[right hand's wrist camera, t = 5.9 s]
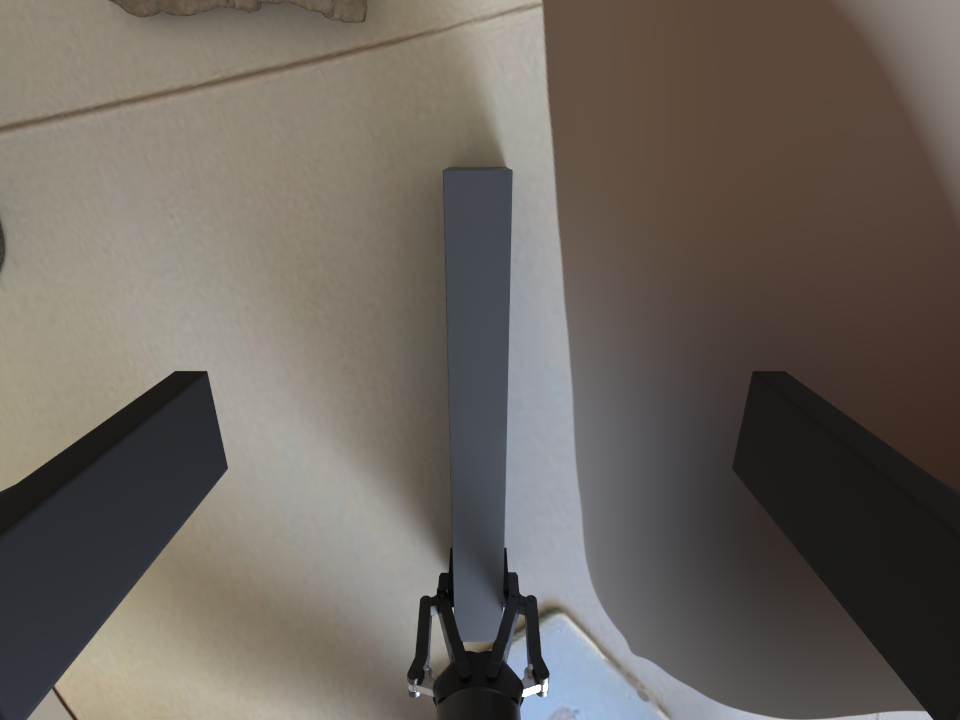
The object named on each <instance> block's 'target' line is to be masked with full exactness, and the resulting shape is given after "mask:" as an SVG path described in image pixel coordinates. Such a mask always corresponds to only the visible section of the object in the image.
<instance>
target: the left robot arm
mask: <svg viewBox="0 0 960 720" xmlns="http://www.w3.org/2000/svg"><path fill="white" fill-rule="evenodd" d="M452 607H454V587H453V548H451V551H450V565H449V573H441V574H440V576H439V584H438V588H437V595H436V596H434V597H431V598H430V597H429V596H423V597H422V598H421V599H420V608H419V620H418V631H417V643H416V654H415V658H414V661H413V663H412V665H411V667H410V669H409V671H408V674H407V678H408V691H409V695H410V696H411V697H413V698H415V697H418V696H419V695H420V694H421V693H422V694H425V695H428V696H431V697H433V701H434V703H435V705H436V708H437V712H436V720H521V717H520V707H521V705H522V703H523V699H524V696H527V695H530V694H533V693H536V694H537V695H538V696H540V697H545V696H547V694H548V687H549V671H548V669H547V667H546V665H545V663H544V661H543V658H542V656H541V645H540V633H539V622H538V610H537V599H536V597H535V596H533V595H529V596H527V597H524V596H522V595H521V594H520V593H519V585H518V575H517V574H516V572H508V566H507V551H506V548H504V577H503V607H505V610H504V613H503V617H502V620H501V624H500V627H499V631H498V634H497V638H496V640H495V641H494V645H493V648H492V651H485V652H481V653H476V652H472V651H465V649H464V646H463V642H462V640H461V639H460V635H459V632H458V628H457V625H456V621H455V618H454V614H453V611H452ZM437 614H438V615H439V619H440V623H441V627H442V631H443V635H444V639H445V643H446V647H447V651H448V655H449V659H450V664H449V665H448V667H447V668H446V669H445V670H444V671H443V673H442V674H441V675H440V676H439V677H438V678H437V680H434V679H433V674H432V669H431V668H430V667H429V658H430V641H431V624H432V616H433V615H437ZM519 614H522V615H525V625H526V643H527V660H528V667H526V668H525V671H524V678H523V679H522V680H520V679H519V678H518V676H517V675H516V674H515V673H514V672H513V670H512V669H511V668H510V667H509V666H508V664H507V658H508V654H509V650H510V646H511V642H512V638H513V635H514V631H515V627H516V623H517V619H518V617H519Z"/></svg>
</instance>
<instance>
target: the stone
mask: <svg viewBox="0 0 960 720" xmlns="http://www.w3.org/2000/svg"><path fill="white" fill-rule="evenodd" d="M110 1H111V2H113V3H115V4H117V5H119V6H121V7H122V8H123V9H124V10H125V11H126V12H127V13H129V14H133V15H136V16H138V17H147V16H153V15H155V14H158V13H160V12H161V11H164V12H166V13H167V14H169V15H179V16H190V15H194V14H196V13H197V12H206V11H210V10H213V9H214V8H216V7H225V8H227V7H230V8H235V9H237V10H239V9H242V10H244V11H246V12H249V13H250V12H252V11H258V10H260V6H261V2H262V3H276V4H279V3H281V2H287V1H289V2H291V3H293V4H296V5H298V6H300V7H302V8H304V9H306V10H309V11H318V12H321V13H322V14H323V15H324V16H325V17H326V18H328V19H330V20H341V21H343V22H348V23H360V22H364V21H365V16H366V11H367V4H366V0H110Z"/></svg>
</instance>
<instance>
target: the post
mask: <svg viewBox="0 0 960 720" xmlns="http://www.w3.org/2000/svg"><path fill="white" fill-rule="evenodd" d="M443 188H444V228H445V268H446V308H447V348H448V388H449V427H450V467H451V507H452V547H453V587H454V618H455V621H456V625H457V628H458V632H459V635H460V639H461V640H462V642H494V641H495V640H496V638H497V634H498V631H499V627H500V624H501V620H502V617H503V577H504V532H505V486H506V441H507V396H508V350H509V305H510V259H511V214H512V170H511V169H509V168H507V167H449V168H447V169H445V170H443Z"/></svg>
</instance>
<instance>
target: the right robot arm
mask: <svg viewBox="0 0 960 720" xmlns="http://www.w3.org/2000/svg"><path fill="white" fill-rule="evenodd" d="M4 253H5V245H4V236H3V231H2V227H1V224H0V270H1V268H2V264H3V261H4ZM227 469H228V466H227V462H226V457H225V452H224V448H223V443H222V438H221V434H220V429H219V424H218V419H217V415H216V410H215V405H214V401H213V396H212V391H211V387H210V382H209V377H208V373H207V371H175V372H173V373H172V374H171V375H169V376H168V377H166V378H165V379H164V380H162V381H161V382H159V383H158V384H157V385H155V386H154V387H152V388H151V389H150V390H148V391H147V392H145V393H144V394H142V395H141V396H140V397H138V398H137V399H135V400H134V401H133V402H131V403H130V404H128V405H127V406H126V407H124V408H123V409H121V410H120V411H119V412H117V413H116V414H114V415H113V416H112V417H110V418H109V419H107V420H106V421H105V422H103V423H102V424H100V425H99V426H98V427H96V428H95V429H93V430H92V431H90V432H89V433H88V434H86V435H85V436H83V437H82V438H81V439H79V440H78V441H76V442H75V443H74V444H72V445H71V446H69V447H68V448H67V449H65V450H64V451H62V452H61V453H60V454H58V455H57V456H55V457H54V458H53V459H51V460H50V461H48V462H47V463H45V464H44V465H43V466H41V467H40V468H38V469H37V470H36V471H34V472H33V473H31V474H30V475H29V476H27V477H26V478H24V479H23V480H22V481H20V482H19V483H17V484H16V485H13V486H11V487H9V488H7V489H5V490H3V491H1V492H0V720H27V719H28V717H29V716H30V715H31V714H32V712H33V711H34V710H35V709H36V707H37V706H38V705H39V704H40V702H41V701H42V700H43V699H44V697H45V696H46V695H47V694H48V692H49V691H50V690H51V689H52V687H53V686H54V685H55V684H56V682H57V681H58V680H59V679H60V677H61V676H62V675H63V674H64V672H65V671H66V670H67V669H68V667H69V666H70V665H71V664H72V662H73V661H74V660H75V659H76V658H77V656H78V655H79V654H80V653H81V651H82V650H83V649H84V648H85V646H86V645H87V644H88V643H89V641H90V640H91V639H92V638H93V636H94V635H95V634H96V633H97V631H98V630H99V629H100V628H101V626H102V625H103V624H104V623H105V621H106V620H107V619H108V618H109V616H110V615H111V614H112V613H113V611H114V610H115V609H116V608H117V606H118V605H119V604H120V603H121V601H122V600H123V599H124V598H125V596H126V595H127V594H128V593H129V591H130V590H131V589H132V588H133V586H134V585H135V584H136V583H137V581H138V580H139V579H140V578H141V576H142V575H143V574H144V573H145V571H146V570H147V569H148V568H149V566H150V565H151V564H152V563H153V561H154V560H155V559H156V558H157V557H158V555H159V554H160V553H161V552H162V550H163V549H164V548H165V547H166V545H167V544H168V543H169V542H170V540H171V539H172V538H173V537H174V535H175V534H176V533H177V532H178V530H179V529H180V528H181V527H182V525H183V524H184V523H185V522H186V520H187V519H188V518H189V517H190V515H191V514H192V513H193V512H194V510H195V509H196V508H197V507H198V505H199V504H200V503H201V502H202V500H203V499H204V498H205V497H206V495H207V494H208V493H209V492H210V490H211V489H212V488H213V487H214V485H215V484H216V483H217V482H218V480H219V479H220V478H221V477H222V475H223V474H224V473H225V472H226V470H227ZM732 469H733V470H734V472H735V473H736V474H737V475H738V477H739V478H740V479H741V480H742V482H743V483H744V484H745V485H746V487H747V488H748V489H749V490H750V492H751V493H752V494H753V495H754V497H755V498H756V499H757V500H758V502H759V503H760V504H761V505H762V507H763V508H764V509H765V510H766V512H767V513H768V514H769V515H770V517H771V518H772V519H773V520H774V522H775V523H776V524H777V525H778V527H779V528H780V529H781V530H782V532H783V533H784V534H785V535H786V537H787V538H788V539H789V540H790V542H791V543H792V544H793V545H794V547H795V548H796V549H797V550H798V552H799V553H800V554H801V555H802V557H803V558H804V559H805V560H806V561H807V563H808V564H809V565H810V566H811V568H812V569H813V570H814V571H815V573H816V574H817V575H818V576H819V578H820V579H821V580H822V581H823V583H824V584H825V585H826V586H827V588H828V589H829V590H830V591H831V593H832V594H833V595H834V596H835V598H836V599H837V600H838V601H839V603H840V604H841V605H842V606H843V608H844V609H845V610H846V611H847V613H848V614H849V615H850V616H851V618H852V619H853V620H854V621H855V623H856V624H857V625H858V626H859V628H860V629H861V630H862V631H863V633H864V634H865V635H866V636H867V638H868V639H869V640H870V641H871V642H872V644H873V645H874V646H875V648H876V649H877V650H878V651H879V653H880V654H881V655H882V656H883V658H884V659H885V660H886V661H887V662H888V664H889V665H890V666H891V667H892V669H893V670H894V671H895V672H896V674H897V675H898V676H899V677H900V679H901V680H902V681H903V682H904V684H905V685H906V686H907V687H908V689H909V690H910V691H911V692H912V694H913V695H914V696H915V697H916V699H917V700H918V701H919V702H920V704H921V705H922V706H923V707H924V709H925V710H926V711H927V712H928V714H929V715H930V716H931V717H932V719H933V720H960V489H957V488H955V487H953V486H951V485H949V484H947V483H945V482H943V481H941V480H939V479H937V478H935V477H933V476H931V475H930V474H929V473H927V472H926V471H924V470H923V469H922V468H920V467H919V466H917V465H916V464H915V463H913V462H912V461H910V460H909V459H907V458H906V457H905V456H903V455H902V454H900V453H899V452H898V451H896V450H895V449H893V448H892V447H891V446H889V445H888V444H886V443H885V442H884V441H882V440H881V439H879V438H878V437H877V436H875V435H874V434H872V433H871V432H870V431H868V430H867V429H865V428H864V427H862V426H861V425H860V424H858V423H857V422H855V421H854V420H853V419H851V418H850V417H848V416H847V415H846V414H844V413H843V412H841V411H840V410H839V409H837V408H836V407H834V406H833V405H832V404H830V403H829V402H827V401H826V400H825V399H823V398H822V397H820V396H819V395H818V394H816V393H815V392H813V391H812V390H810V389H809V388H808V387H806V386H805V385H803V384H802V383H801V382H799V381H798V380H796V379H795V378H794V377H792V376H791V375H789V374H788V373H787V372H785V371H753V373H752V378H751V382H750V387H749V391H748V396H747V401H746V405H745V410H744V415H743V419H742V424H741V429H740V434H739V438H738V443H737V448H736V452H735V457H734V462H733V466H732Z"/></svg>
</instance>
